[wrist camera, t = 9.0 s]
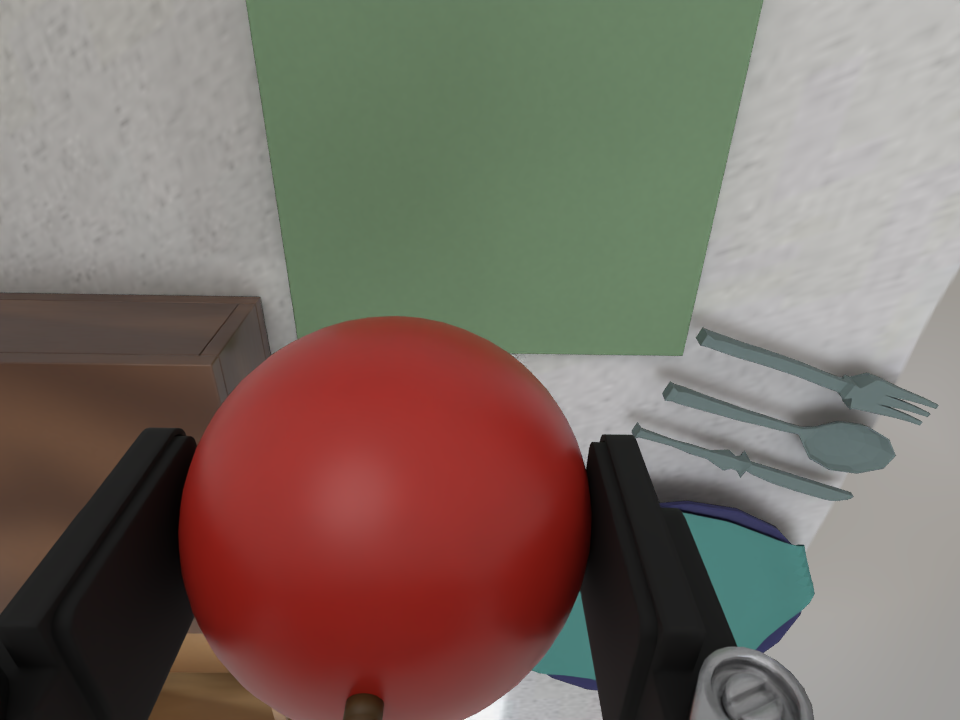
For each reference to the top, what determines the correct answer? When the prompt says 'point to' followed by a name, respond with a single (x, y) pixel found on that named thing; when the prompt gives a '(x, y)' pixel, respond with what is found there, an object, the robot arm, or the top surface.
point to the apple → (385, 524)
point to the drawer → (206, 689)
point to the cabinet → (102, 397)
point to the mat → (502, 161)
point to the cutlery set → (742, 537)
